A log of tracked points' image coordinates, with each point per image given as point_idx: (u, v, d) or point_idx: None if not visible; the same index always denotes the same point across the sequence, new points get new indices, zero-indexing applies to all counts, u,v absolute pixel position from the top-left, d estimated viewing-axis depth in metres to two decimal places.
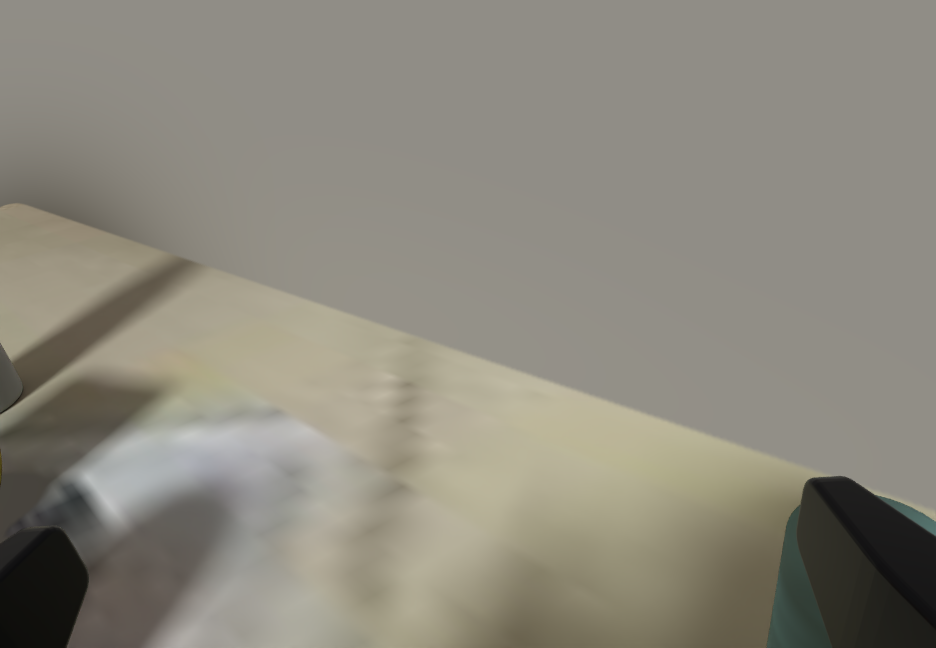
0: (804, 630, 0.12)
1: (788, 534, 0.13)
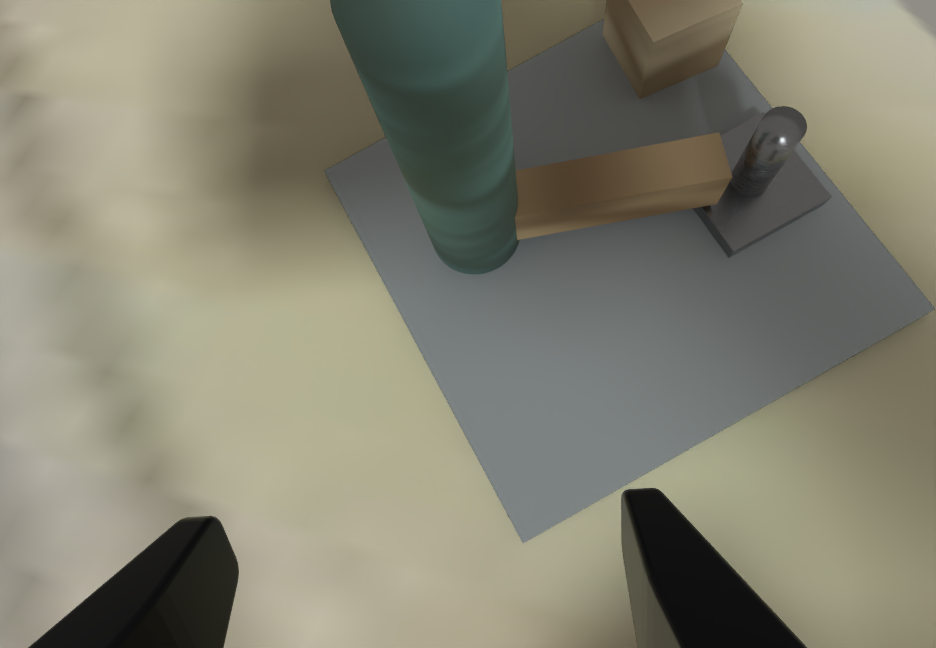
0: (379, 93, 0.13)
1: (333, 2, 0.12)
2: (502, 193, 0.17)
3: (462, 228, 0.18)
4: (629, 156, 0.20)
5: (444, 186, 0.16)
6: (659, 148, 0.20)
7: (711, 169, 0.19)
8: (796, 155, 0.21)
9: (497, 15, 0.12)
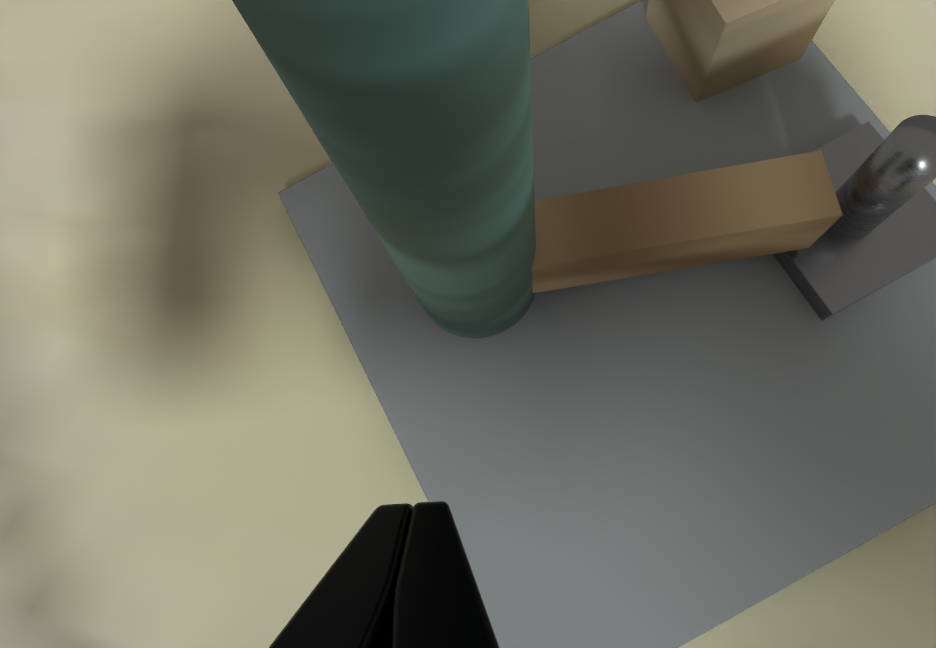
0: (300, 89, 0.07)
1: None
2: (514, 242, 0.11)
3: (456, 289, 0.12)
4: (693, 183, 0.14)
5: (425, 237, 0.10)
6: (736, 172, 0.14)
7: (811, 203, 0.14)
8: None
9: None
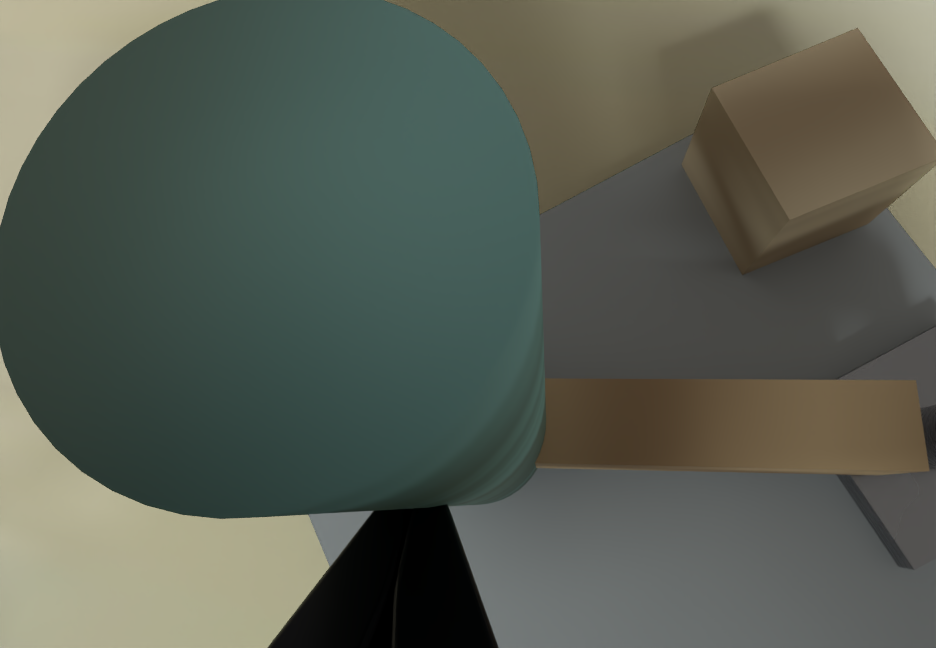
0: None
1: (7, 230, 0.04)
2: (509, 480, 0.09)
3: None
4: (748, 393, 0.11)
5: None
6: (804, 389, 0.11)
7: (892, 447, 0.11)
8: None
9: (515, 355, 0.04)
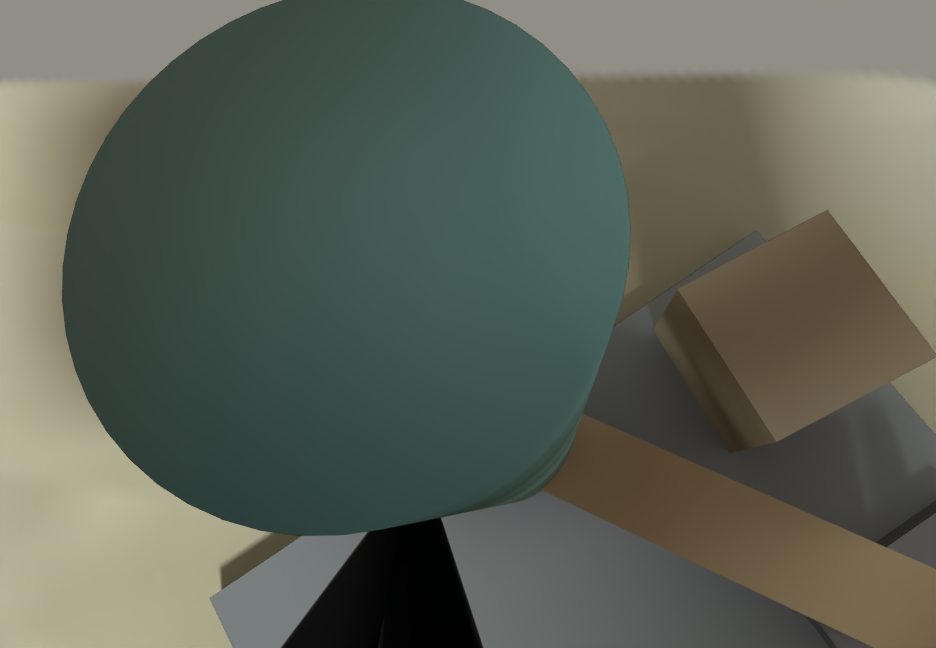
0: None
1: (112, 140, 0.04)
2: (505, 503, 0.09)
3: None
4: (778, 515, 0.11)
5: None
6: (836, 537, 0.11)
7: (902, 634, 0.10)
8: None
9: (529, 459, 0.03)
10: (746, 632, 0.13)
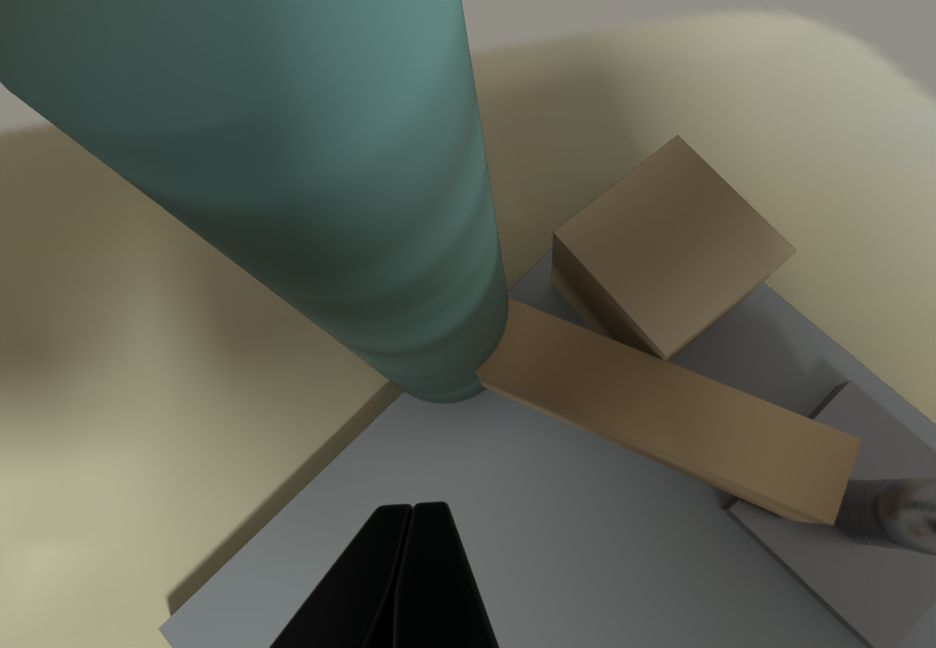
0: None
1: None
2: (430, 356, 0.10)
3: (362, 358, 0.11)
4: (696, 387, 0.11)
5: (301, 312, 0.08)
6: (750, 405, 0.11)
7: (808, 490, 0.11)
8: (928, 449, 0.13)
9: (363, 106, 0.04)
10: (683, 548, 0.13)
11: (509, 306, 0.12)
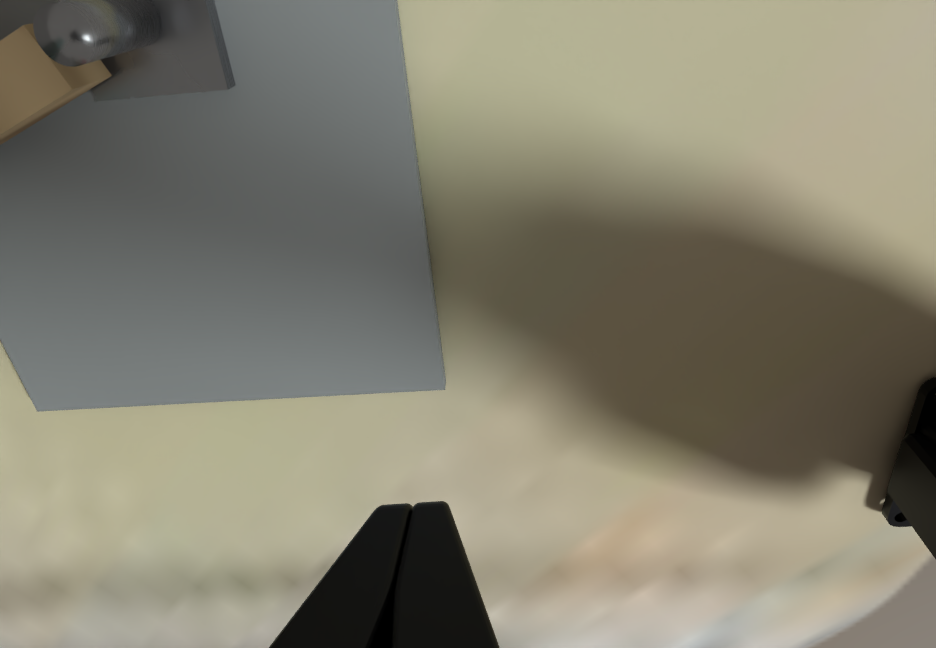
0: None
1: None
2: None
3: None
4: None
5: None
6: None
7: (44, 84, 0.15)
8: None
9: None
10: (120, 138, 0.18)
11: None
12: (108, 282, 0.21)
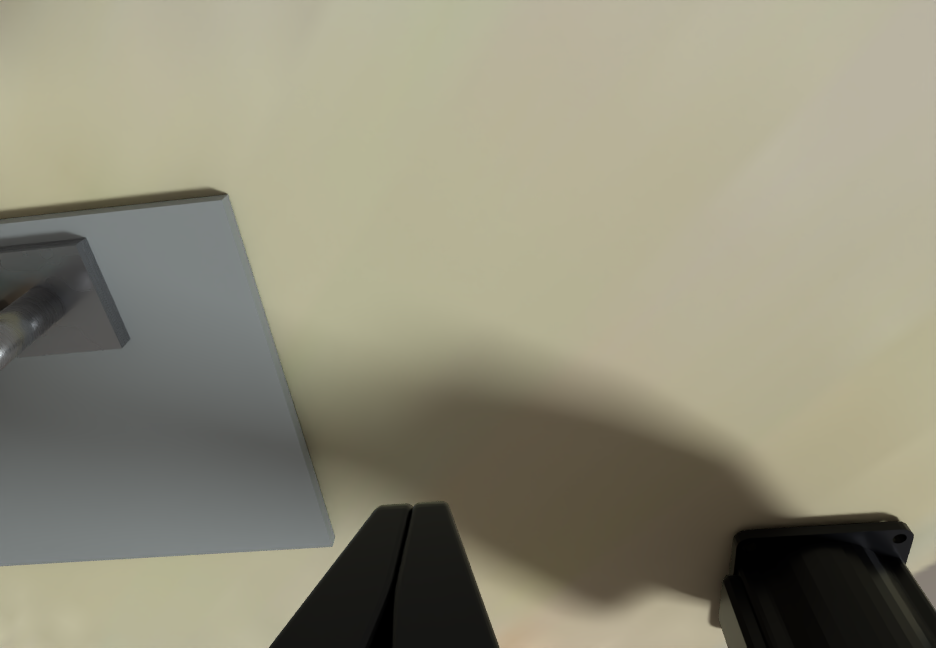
0: None
1: None
2: None
3: None
4: None
5: None
6: None
7: None
8: (21, 253, 0.20)
9: None
10: (43, 375, 0.23)
11: None
12: (44, 474, 0.25)
